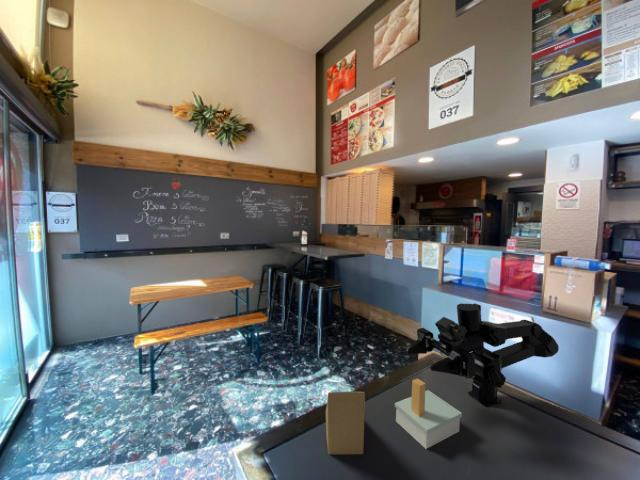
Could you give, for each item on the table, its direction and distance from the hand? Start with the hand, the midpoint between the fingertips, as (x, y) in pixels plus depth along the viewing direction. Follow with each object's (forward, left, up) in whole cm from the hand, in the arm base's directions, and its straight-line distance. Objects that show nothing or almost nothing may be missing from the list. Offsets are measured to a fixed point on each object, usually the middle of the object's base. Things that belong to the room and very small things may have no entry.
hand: (418, 359), depth 73 cm
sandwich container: (+21, -2, -17) cm, 27 cm away
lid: (-1, +4, -13) cm, 14 cm away
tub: (0, +4, -16) cm, 17 cm away
